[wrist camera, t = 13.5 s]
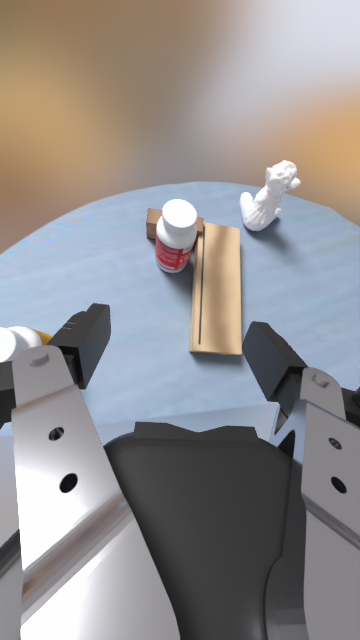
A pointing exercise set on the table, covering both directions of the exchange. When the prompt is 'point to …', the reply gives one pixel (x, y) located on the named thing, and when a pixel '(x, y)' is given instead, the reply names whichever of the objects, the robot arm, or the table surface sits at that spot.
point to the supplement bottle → (19, 341)
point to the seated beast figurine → (268, 196)
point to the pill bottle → (175, 235)
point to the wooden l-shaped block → (213, 287)
